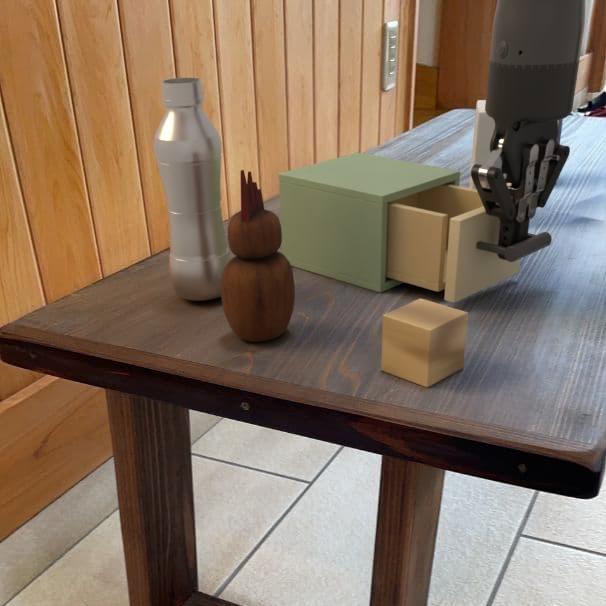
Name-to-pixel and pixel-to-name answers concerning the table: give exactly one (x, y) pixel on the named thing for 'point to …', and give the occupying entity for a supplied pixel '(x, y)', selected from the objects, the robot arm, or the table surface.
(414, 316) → the block
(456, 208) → the drawer
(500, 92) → the robot arm
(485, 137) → the small box
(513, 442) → the table surface
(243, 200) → the wooden figurine
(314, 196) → the cabinet
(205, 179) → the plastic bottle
